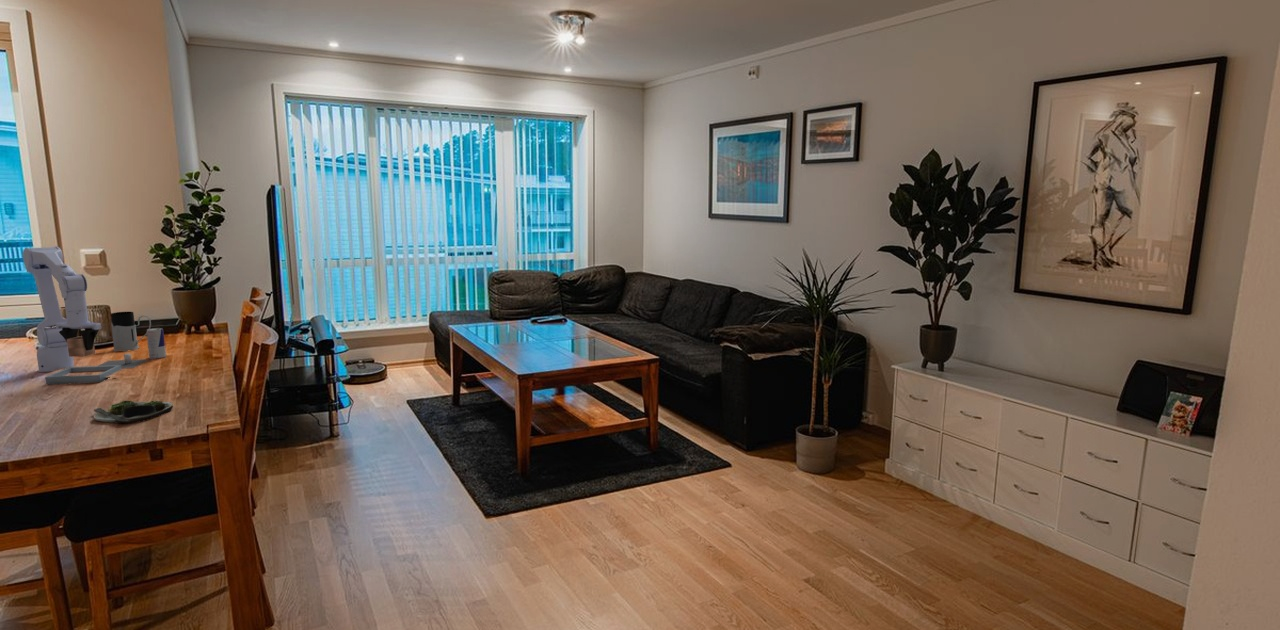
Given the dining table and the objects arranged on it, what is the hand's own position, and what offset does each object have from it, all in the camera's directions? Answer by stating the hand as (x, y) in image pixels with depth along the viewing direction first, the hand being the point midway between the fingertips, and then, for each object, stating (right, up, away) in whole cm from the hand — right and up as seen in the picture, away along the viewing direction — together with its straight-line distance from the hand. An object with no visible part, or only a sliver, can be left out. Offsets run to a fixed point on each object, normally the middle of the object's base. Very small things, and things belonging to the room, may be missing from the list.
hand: (81, 349), depth 236 cm
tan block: (0, -2, 0) cm, 2 cm away
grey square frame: (0, -10, +2) cm, 10 cm away
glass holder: (-16, -2, +46) cm, 49 cm away
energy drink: (+6, -6, +28) cm, 30 cm away
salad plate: (+45, -18, -36) cm, 60 cm away
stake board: (+1, -7, +17) cm, 19 cm away
